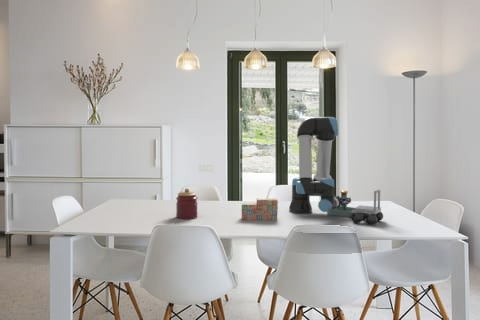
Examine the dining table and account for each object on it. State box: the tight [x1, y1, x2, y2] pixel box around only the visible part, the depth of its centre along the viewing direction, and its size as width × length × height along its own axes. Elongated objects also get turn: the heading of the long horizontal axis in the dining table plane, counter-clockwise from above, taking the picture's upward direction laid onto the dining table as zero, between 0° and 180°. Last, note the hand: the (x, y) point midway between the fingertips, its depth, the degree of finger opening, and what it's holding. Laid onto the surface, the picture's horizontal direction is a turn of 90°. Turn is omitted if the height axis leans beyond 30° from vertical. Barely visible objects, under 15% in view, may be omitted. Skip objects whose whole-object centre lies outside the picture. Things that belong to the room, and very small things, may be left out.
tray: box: [326, 206, 355, 218], centre depth 239 cm, size 16×16×3 cm
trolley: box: [350, 189, 384, 226], centre depth 214 cm, size 14×15×19 cm
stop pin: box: [339, 190, 349, 210], centre depth 238 cm, size 5×5×12 cm
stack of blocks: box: [241, 197, 279, 221], centre depth 220 cm, size 21×6×12 cm, turn 89°
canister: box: [175, 187, 198, 220], centre depth 224 cm, size 13×13×18 cm
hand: (346, 198), depth 243 cm, fingers closed on stop pin, 3 cm apart
